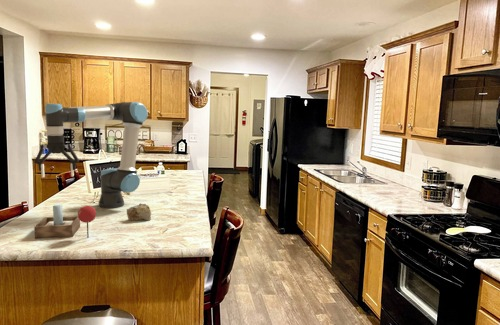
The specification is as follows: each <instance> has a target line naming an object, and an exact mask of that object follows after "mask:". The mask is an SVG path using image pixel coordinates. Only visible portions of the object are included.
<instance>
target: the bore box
mask: <svg viewBox="0 0 500 325" xmlns="http://www.w3.org/2000/svg"><path fill="white" fill-rule="evenodd" d="M33 228H34V229H33V230H34V231H33V232H34V239H50V238H51V239H55V238H73V237H74V235H76V234H77V231H78V230H79V229H80V228H81V221H80V220H79V218H78V215H77V216H75V215H73V216H63V225H54V220H53V216H45V217H44V218H43V219H41V220H40V221H39V222H38V223H37V224H36V225H34V227H33Z"/></svg>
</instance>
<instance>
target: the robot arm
mask: <svg viewBox="0 0 500 325" xmlns="http://www.w3.org/2000/svg"><path fill="white" fill-rule="evenodd" d="M44 107H45V108H44V109H45V110H44V113H45V123H46V124H45V125H46V135H47V136H46V139H47V140H46V141H47V144H43V143H42V144H40V146H39V150H38V153H37V155H36V157H35V160H34V162H33V163H34V164H38V171H40V172H41V179H43V178H45V177H46V175H45V164H44V162H45V161H46V159H48V157H49V156H50V155H51V154H62V155H63V156H64V157H65V158H66V159H67V160H68V161H69V162H70V176H71V177H74V175H75V173H74V172H75V171H76V164H77V163H79V162H80V159H79V158H78V156H77V154H76V153H75V150H74V149H73V147H72V144H71V143H68V144H65V135H64V132H65V131H64V130H65V129H64V123H65V124H66V123H82V122H85V121H90V120H102V119H103V120H104V119H105V120H107V121H119V122H122V125H123V126H124V127H123V128H124V130H123V138H122V144H121V145H122V147H121V154H120V155H121V156H120V163H119V164H120V165H119V167H117V168H108V169H107V168H106V169H103V170H100V175H99V176H100V192H101V193H100V197H99V200H98V207H99V208H102V209H115V208H116V209H117V208H120V207H121V208H122V207H123V206H125V200H124V197H123V195H122V192H123V193H133V192H135V191H136V190H137V189H138V188H139V187H140V182H141V178H140V177H139V175H138V169H136V160H137V151H138V150H137V149H138V143H139V136H140V135H139V134H140V128H142V127H143V125H144V124H143V123H144V122H146V120H147V118H148V116H149V113H148V112H149V111H148V109H147V107H146V106H145V104H143V103H142V102H137V101H123V102H116V103H115V102H114V103H107V104H105V105H95V106H93V105H92V106H68V107H66V106H65V107H64V106H63V105H62V103H46V104H45V106H44ZM65 148H66V150H67V149H68V151H69V153H70V154H71V155H70V154H69V153H68V152H67V151H66V150H65ZM46 149H47V152H46V153H45V154H44V155H43V153H44V151H45V150H46ZM42 155H43V157H42Z"/></svg>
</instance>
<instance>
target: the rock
mask: <svg viewBox="0 0 500 325" xmlns="http://www.w3.org/2000/svg"><path fill="white" fill-rule="evenodd" d="M126 215H127V216H126V217H127V218H128V220H130V221H140V220H142V221H143V220H144V221H152V211H151V208H150V207H149V205H148V204H146V203H141V202H140V203H139V204H137V205H134V206H131V207H129V208H126Z"/></svg>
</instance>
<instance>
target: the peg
mask: <svg viewBox="0 0 500 325" xmlns="http://www.w3.org/2000/svg"><path fill="white" fill-rule="evenodd" d="M52 213H53V214H52V215H53V216H52V217H53V220H54V225H63V217H64V214H63V205H62V204H55V205H52Z"/></svg>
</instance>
